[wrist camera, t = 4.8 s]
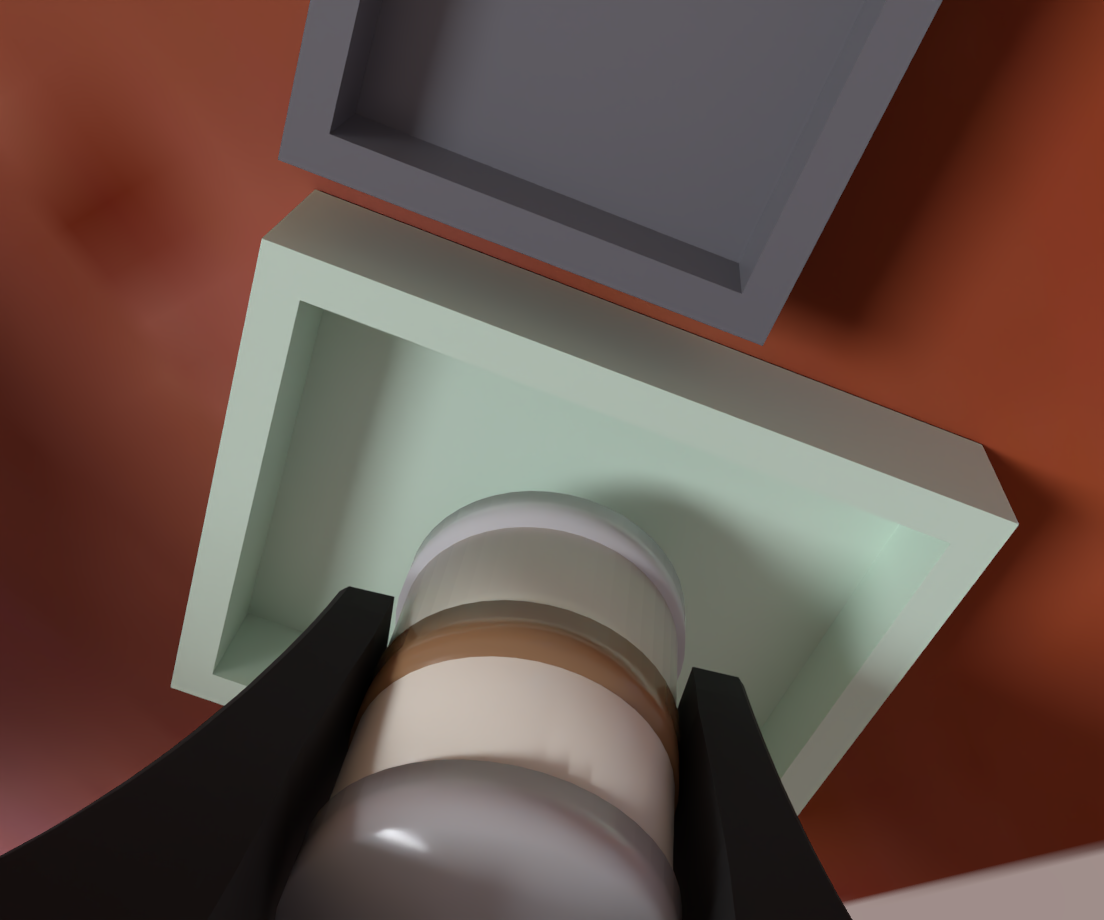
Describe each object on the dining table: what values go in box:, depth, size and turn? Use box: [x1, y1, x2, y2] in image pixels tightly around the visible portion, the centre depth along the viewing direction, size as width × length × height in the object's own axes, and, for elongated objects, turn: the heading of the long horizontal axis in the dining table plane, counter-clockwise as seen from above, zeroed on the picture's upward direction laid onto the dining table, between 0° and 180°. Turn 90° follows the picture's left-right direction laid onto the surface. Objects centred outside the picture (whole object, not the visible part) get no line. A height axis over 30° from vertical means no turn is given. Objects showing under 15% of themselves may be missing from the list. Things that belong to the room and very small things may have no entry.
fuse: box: [275, 491, 686, 920], centre depth 12 cm, size 4×4×6 cm
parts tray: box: [171, 189, 1019, 816], centre depth 16 cm, size 10×8×2 cm
